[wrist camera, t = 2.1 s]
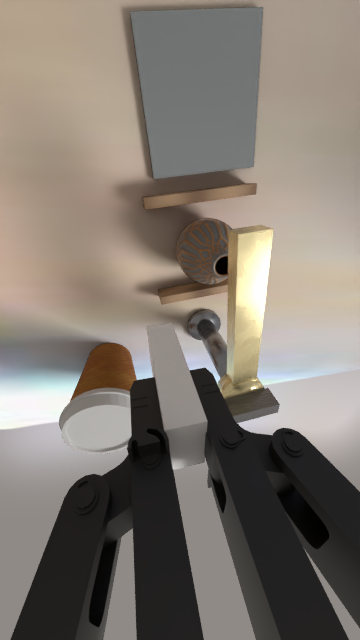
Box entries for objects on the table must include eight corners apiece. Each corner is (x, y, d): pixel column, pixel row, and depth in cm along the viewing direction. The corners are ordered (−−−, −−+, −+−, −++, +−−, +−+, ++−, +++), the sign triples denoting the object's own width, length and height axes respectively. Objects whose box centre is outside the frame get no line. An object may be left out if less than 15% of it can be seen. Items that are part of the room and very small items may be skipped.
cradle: (245, 183, 26) (256, 183, 24) (241, 280, 32) (249, 287, 30) (142, 197, 24) (143, 198, 22) (159, 296, 31) (161, 304, 29)
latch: (276, 221, 16) (316, 231, 13) (256, 391, 26) (275, 422, 22) (209, 232, 15) (232, 245, 12) (214, 401, 25) (228, 434, 22)
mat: (259, 11, 19) (263, 7, 19) (250, 167, 25) (253, 166, 24) (130, 16, 18) (130, 11, 17) (153, 179, 24) (154, 179, 23)
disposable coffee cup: (151, 366, 37) (161, 435, 27) (99, 389, 37) (90, 466, 27) (123, 323, 32) (122, 388, 22) (62, 350, 32) (34, 427, 22)
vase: (160, 239, 27) (173, 259, 20) (207, 201, 26) (240, 208, 19) (190, 281, 31) (211, 312, 23) (233, 249, 30) (269, 271, 22)
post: (218, 306, 34) (259, 360, 23) (218, 333, 36) (255, 392, 26) (186, 313, 33) (213, 371, 23) (188, 340, 36) (214, 402, 25)
